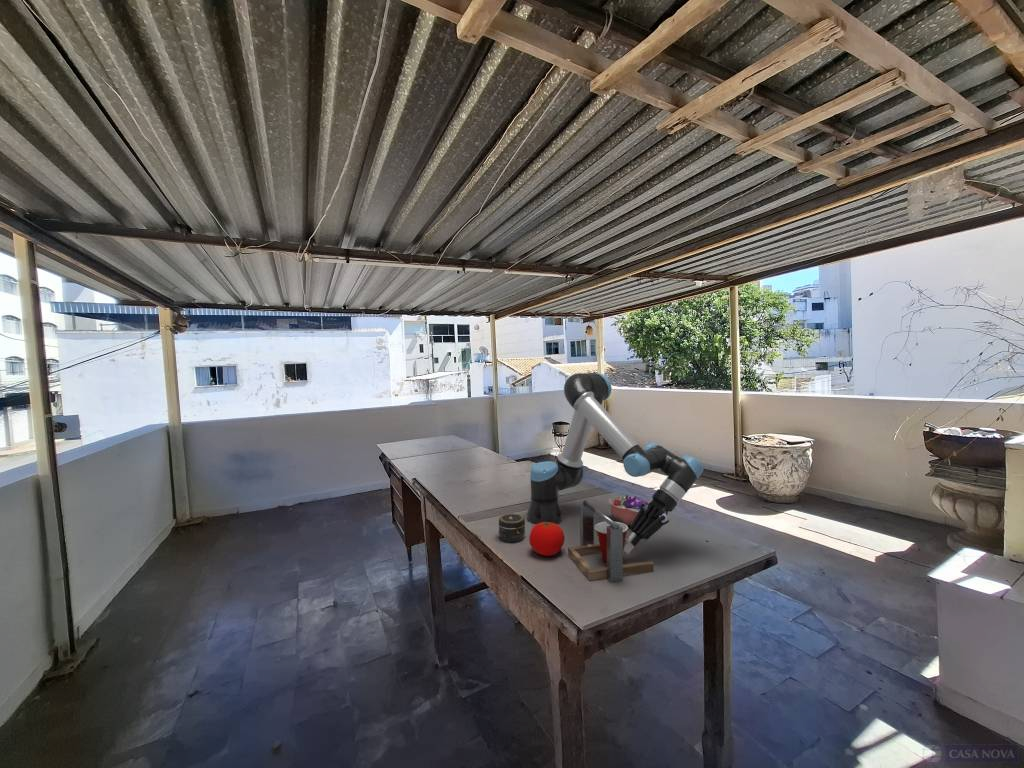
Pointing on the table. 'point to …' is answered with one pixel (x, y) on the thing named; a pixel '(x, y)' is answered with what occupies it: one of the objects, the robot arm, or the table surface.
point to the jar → (511, 527)
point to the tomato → (546, 538)
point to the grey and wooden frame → (587, 546)
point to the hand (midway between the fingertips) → (624, 550)
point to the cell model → (626, 508)
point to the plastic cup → (602, 535)
